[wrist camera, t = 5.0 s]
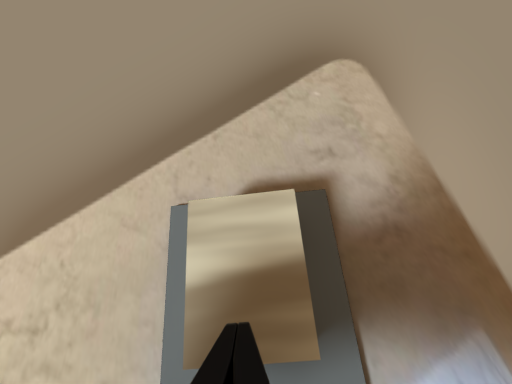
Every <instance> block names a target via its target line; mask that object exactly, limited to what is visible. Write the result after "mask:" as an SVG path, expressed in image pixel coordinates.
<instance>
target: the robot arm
mask: <svg viewBox="0 0 512 384" xmlns="http://www.w3.org/2000/svg"><path fill="white" fill-rule="evenodd" d="M190 384H270V382H269V379H268V376H267V373H266V370H265V367H264V364H263V361H262V358H261V355H260V352H259V349H258V346H257V343H256V340H255V337H254V334H253V331H252V328H251V325H250V323H249V322H239V323H227V324H226V325H225V327H224V328H223V330H222V332H221V333H220V335H219V337H218V338H217V340H216V342H215V343H214V345H213V347H212V348H211V350H210V352H209V353H208V355H207V357H206V358H205V360H204V361H203V363H202V365H201V366H200V368H199V370H198V371H197V373H196V375H195V376H194V378H193V380H192V381H191V383H190Z"/></svg>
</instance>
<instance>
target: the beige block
mask: <svg viewBox="0 0 512 384" xmlns="http://www.w3.org/2000/svg"><path fill="white" fill-rule="evenodd" d="M239 322H249V323H250V325H251V328H252V331H253V334H254V337H255V340H256V343H257V346H258V349H259V352H260V355H261V358H262V361H263V364H271V363H285V362H299V361H313V360H321V359H320V353H319V346H318V340H317V333H316V327H315V320H314V314H313V307H312V301H311V294H310V288H309V281H308V275H307V268H306V262H305V256H304V249H303V243H302V236H301V230H300V223H299V217H298V210H297V204H296V197H295V191H294V189H289V190H280V191H271V192H262V193H253V194H244V195H235V196H226V197H217V198H208V199H199V200H190V201H188V223H187V254H186V286H185V318H184V350H183V370H188V369H199V368H200V366H201V365H202V363H203V361H204V360H205V358H206V357H207V355H208V353H209V352H210V350H211V348H212V347H213V345H214V343H215V342H216V340H217V338H218V337H219V335H220V333H221V332H222V330H223V328H224V327H225V325H226V324H227V323H239Z"/></svg>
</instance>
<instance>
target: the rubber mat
mask: <svg viewBox="0 0 512 384" xmlns="http://www.w3.org/2000/svg"><path fill="white" fill-rule="evenodd" d="M295 197H296V204H297V210H298V217H299V223H300V230H301V236H302V243H303V249H304V256H305V262H306V268H307V275H308V281H309V288H310V294H311V301H312V307H313V314H314V320H315V327H316V333H317V340H318V346H319V353H320V359H321V360H313V361H299V362H285V363H271V364H264V367H265V370H266V373H267V376H268V379H269V382H270V384H366V383H365V378H364V373H363V368H362V364H361V359H360V354H359V349H358V345H357V340H356V335H355V330H354V325H353V321H352V316H351V311H350V306H349V301H348V297H347V292H346V287H345V282H344V277H343V273H342V268H341V263H340V258H339V253H338V249H337V244H336V239H335V234H334V229H333V225H332V220H331V215H330V210H329V205H328V201H327V196H326V191H325V189H322V190H313V191H304V192H295ZM187 223H188V204H187V205H178V206H171V216H170V232H169V249H168V266H167V282H166V299H165V315H164V332H163V348H162V365H161V381H160V384H190V383H191V381H192V380H193V378H194V376H195V375H196V373H197V371H198V370H199V369H188V370H183V350H184V318H185V286H186V254H187Z"/></svg>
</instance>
